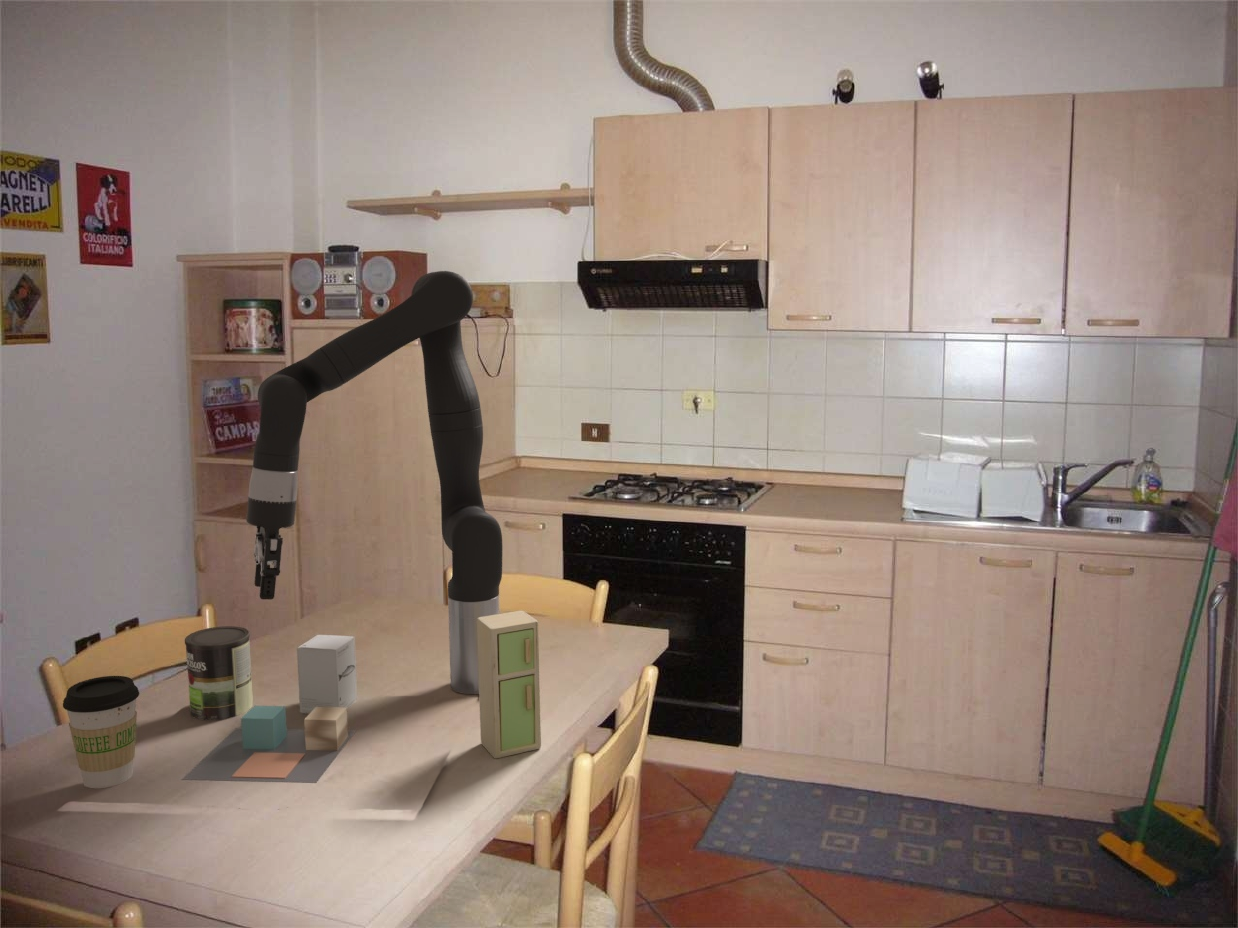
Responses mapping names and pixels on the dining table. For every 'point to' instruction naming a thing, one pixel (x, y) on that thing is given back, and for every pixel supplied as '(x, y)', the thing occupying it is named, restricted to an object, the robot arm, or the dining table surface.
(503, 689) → the toy refrigerator
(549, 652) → the dining table surface
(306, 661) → the supplement box
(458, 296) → the robot arm
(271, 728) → the teal block
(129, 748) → the coffee cup
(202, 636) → the coffee can
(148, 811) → the dining table surface
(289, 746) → the baseplate
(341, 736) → the ash block
